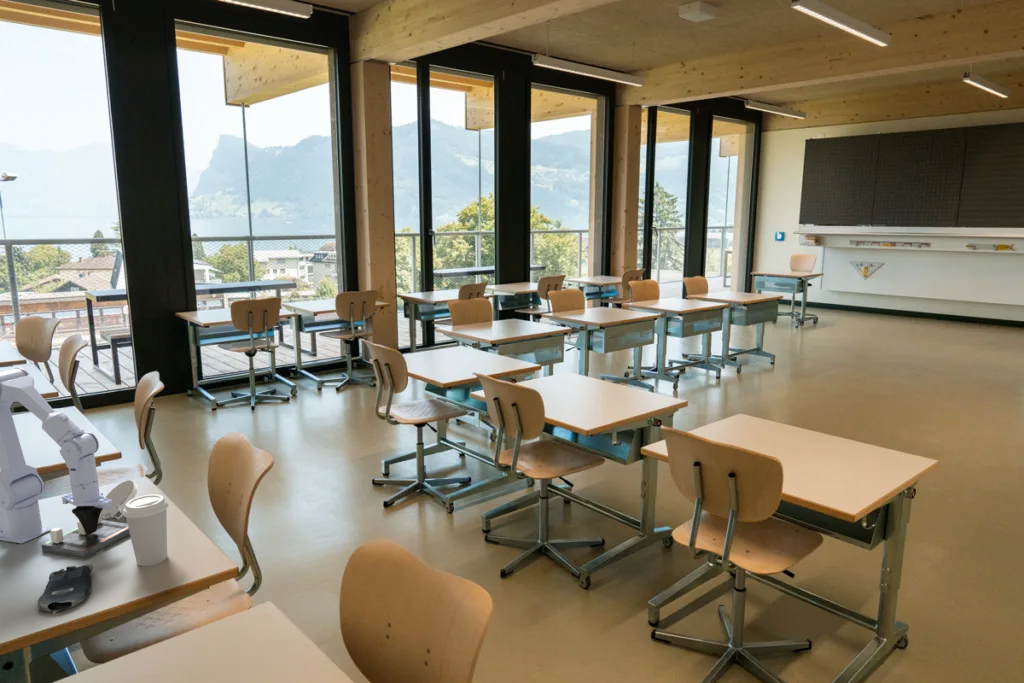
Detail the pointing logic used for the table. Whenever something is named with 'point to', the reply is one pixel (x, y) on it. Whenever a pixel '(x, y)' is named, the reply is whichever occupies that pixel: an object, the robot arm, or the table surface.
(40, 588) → the table surface
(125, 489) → the tabbed white plastic disc
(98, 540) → the grey slider switch panel
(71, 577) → the electronic device
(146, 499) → the coffee cup
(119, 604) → the table surface
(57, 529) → the block
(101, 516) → the block
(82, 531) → the block
